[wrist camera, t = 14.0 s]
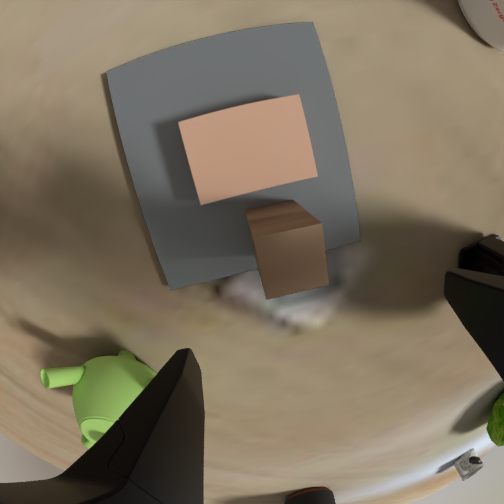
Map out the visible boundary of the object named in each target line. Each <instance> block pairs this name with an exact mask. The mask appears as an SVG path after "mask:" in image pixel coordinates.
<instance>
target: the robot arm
mask: <svg viewBox="0 0 504 504" xmlns="http://www.w3.org/2000/svg"><path fill="white" fill-rule="evenodd" d="M444 296H445V298H446V300H447V301H448V303H449V304H450V305H451V307H452V309H453V310H454V312H455V313H456V315H457V316H458V318H459V319H460V321H461V322H462V324H463V325H464V327H465V328H466V330H467V331H468V332H469V334H470V335H471V336H472V337H473V339H474V340H475V341H476V343H477V344H478V345H479V347H480V348H481V349H482V351H483V352H484V354H485V355H486V356H487V358H488V359H489V361H490V362H491V363H492V365H493V366H494V368H495V369H496V371H497V372H498V374H499V375H500V376H501V378H502V379H503V381H504V242H503V241H501V237H500V236H498V235H495V236H491V237H488V238H486V239H484V240H481V241H479V242H477V243H476V244H473V245H471V246H468V247H466V248H463V249H462V250H461V252H460V258H459V269H458V268H453V269H451V270H448V271H447V272H446V274H445V281H444ZM118 419H119V420H116V421H115V423H114V424H113V425H112V426H111V427H110V428H109V429H108V430H107V431H106V433H105V434H104V435H103V436H102V437H101V438H100V439H99V440H98V441H97V442H96V443H95V444H94V445H93V446H92V447H91V448H90V449H89V450H87V451H86V452H85V453H84V454H83V455H82V456H81V457H80V458H79V459H78V460H77V461H76V462H74V463H73V464H72V465H71V466H70V467H69V468H68V469H67V470H66V471H64V472H63V473H62V474H60V475H58V476H56V477H54V478H51V479H46V480H38V481H28V482H16V483H0V504H204V500H203V477H204V421H205V411H204V400H203V389H202V377H201V370H200V366H199V364H198V362H197V360H196V358H195V356H194V354H193V352H192V350H191V349H190V348H185V349H180V350H177V351H176V352H175V354H174V355H173V356H172V357H171V358H170V359H169V361H168V362H167V363H166V364H165V365H164V366H163V367H162V369H161V370H160V371H159V372H158V373H157V374H156V376H155V377H154V378H153V379H152V380H151V381H150V382H149V384H148V385H147V386H146V387H145V388H144V389H143V391H142V392H141V393H140V394H139V395H138V396H137V397H136V399H135V400H134V401H133V402H132V403H131V404H130V405H129V407H128V408H127V409H126V410H125V411H124V412H123V413H122V415H121V416H120V417H119V418H118Z"/></svg>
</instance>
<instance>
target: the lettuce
mask: <svg viewBox="0 0 504 504" xmlns="http://www.w3.org/2000/svg"><path fill="white" fill-rule="evenodd" d="M486 429H487V432H488V434H489V437H490V439H491V441H493V442H494V443H495V444H496V445H497V446H503V445H504V392H503V393H502V394H501V396H500V397H499V398H498V400H497V401H496V402H495V403H494V404H493V408H492V412H491V415H490V418H489V422H488V425H487V428H486Z"/></svg>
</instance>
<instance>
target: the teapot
mask: <svg viewBox="0 0 504 504" xmlns="http://www.w3.org/2000/svg"><path fill="white" fill-rule="evenodd" d="M156 374H157V373H156V372H155V371H154V370H153V369H151V368H150V367H148V366H146V365H145V364H143V363H141V362H139V361H136V358H135V356H134V355H133V354H132V353H131V352H129V351H127V350H121V351H119V353H118V356H101V357H96V358H93V359H90V360H88V361H87V362H85V363H84V364H83V365H80V366H69V367H57V368H42V369H41V370H40V378H41V381H42V384H43V385H44V387H45V388H54V387H60V386H66V385H72V384H73V405H74V411H75V415H76V418H77V422H78V424H79V427H80V429H81V432H82V433H83V435H82V439H81V441H82V443H83V445H84V446H85V447H87V448H88V449H90V448H91V447H92V446H93V445H94V444H95V443H96V442H97V441H98V440H99V439H100V438H101V437H102V436H103V435H104V434H105V433H106V431H107V430H108V429H109V428H110V427H111V426H112V425H113V424H114V423H115V421H116V420H119V419H118V418H119V417H120V416H121V415H122V413H123V412H124V411H125V410H126V409H127V408H128V407H129V405H130V404H131V403H132V402H133V401H134V400H135V399H136V397H137V396H138V395H139V394H140V393H141V392H142V391H143V389H144V388H145V387H146V386H147V385H148V384H149V382H150V381H151V380H152V379H153V378H154V377H155V376H156Z"/></svg>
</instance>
